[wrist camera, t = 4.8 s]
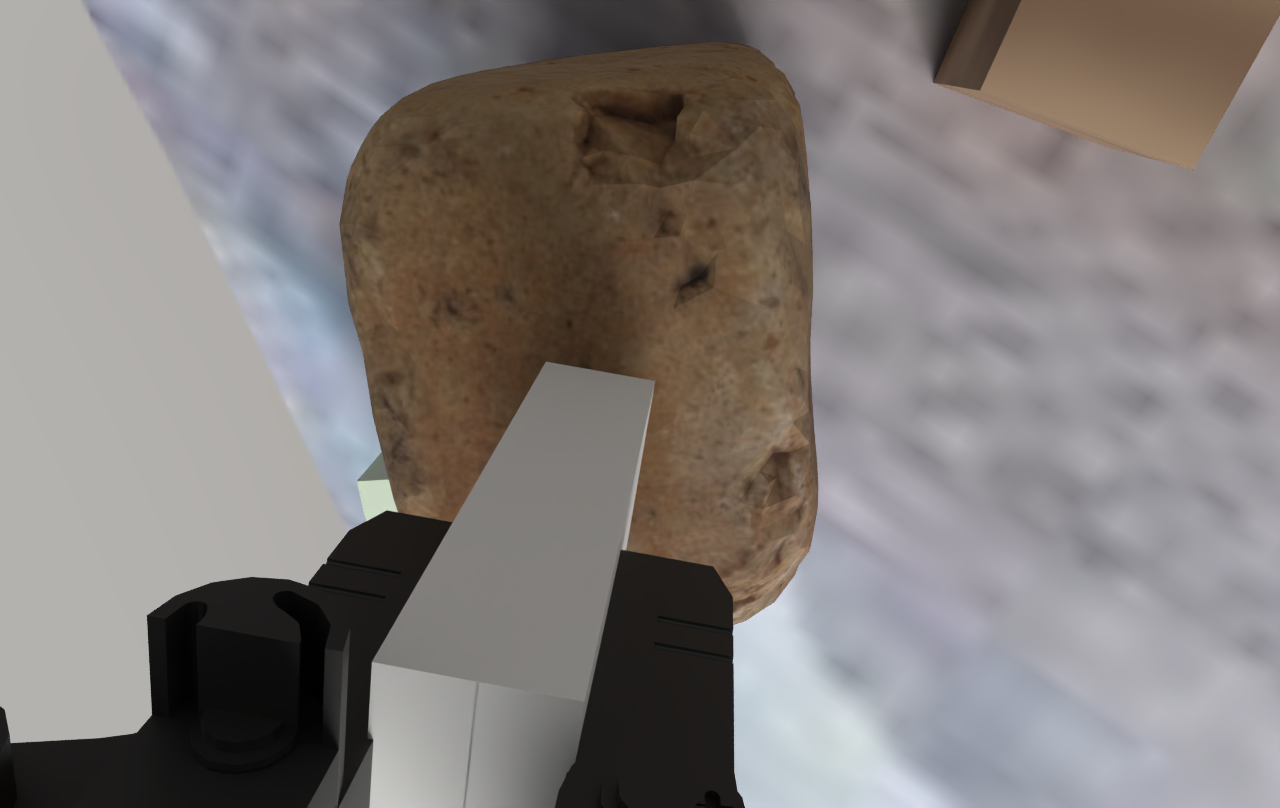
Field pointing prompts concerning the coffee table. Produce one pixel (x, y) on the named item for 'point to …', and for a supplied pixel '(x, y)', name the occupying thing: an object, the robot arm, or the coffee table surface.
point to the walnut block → (1112, 66)
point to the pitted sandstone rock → (600, 286)
